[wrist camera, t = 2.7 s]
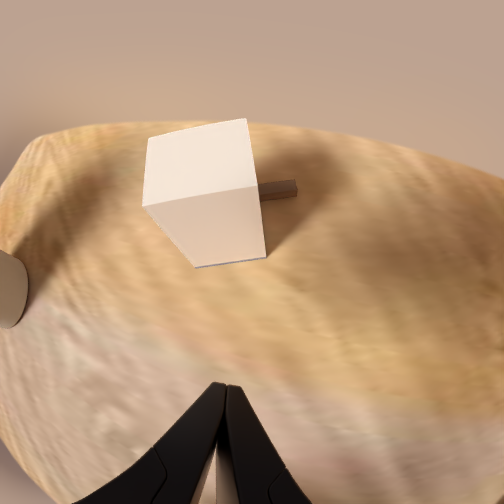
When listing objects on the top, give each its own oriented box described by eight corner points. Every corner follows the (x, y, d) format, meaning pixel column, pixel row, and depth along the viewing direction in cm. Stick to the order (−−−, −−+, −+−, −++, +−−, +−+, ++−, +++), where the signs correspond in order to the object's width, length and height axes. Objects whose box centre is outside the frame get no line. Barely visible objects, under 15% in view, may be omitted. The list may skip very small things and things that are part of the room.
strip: (296, 196, 24) (297, 189, 23) (156, 218, 24) (152, 213, 23) (294, 186, 24) (294, 179, 23) (157, 208, 25) (153, 203, 24)
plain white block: (266, 258, 22) (257, 185, 13) (195, 268, 22) (142, 206, 13) (258, 206, 24) (246, 118, 14) (192, 216, 24) (148, 137, 15)
